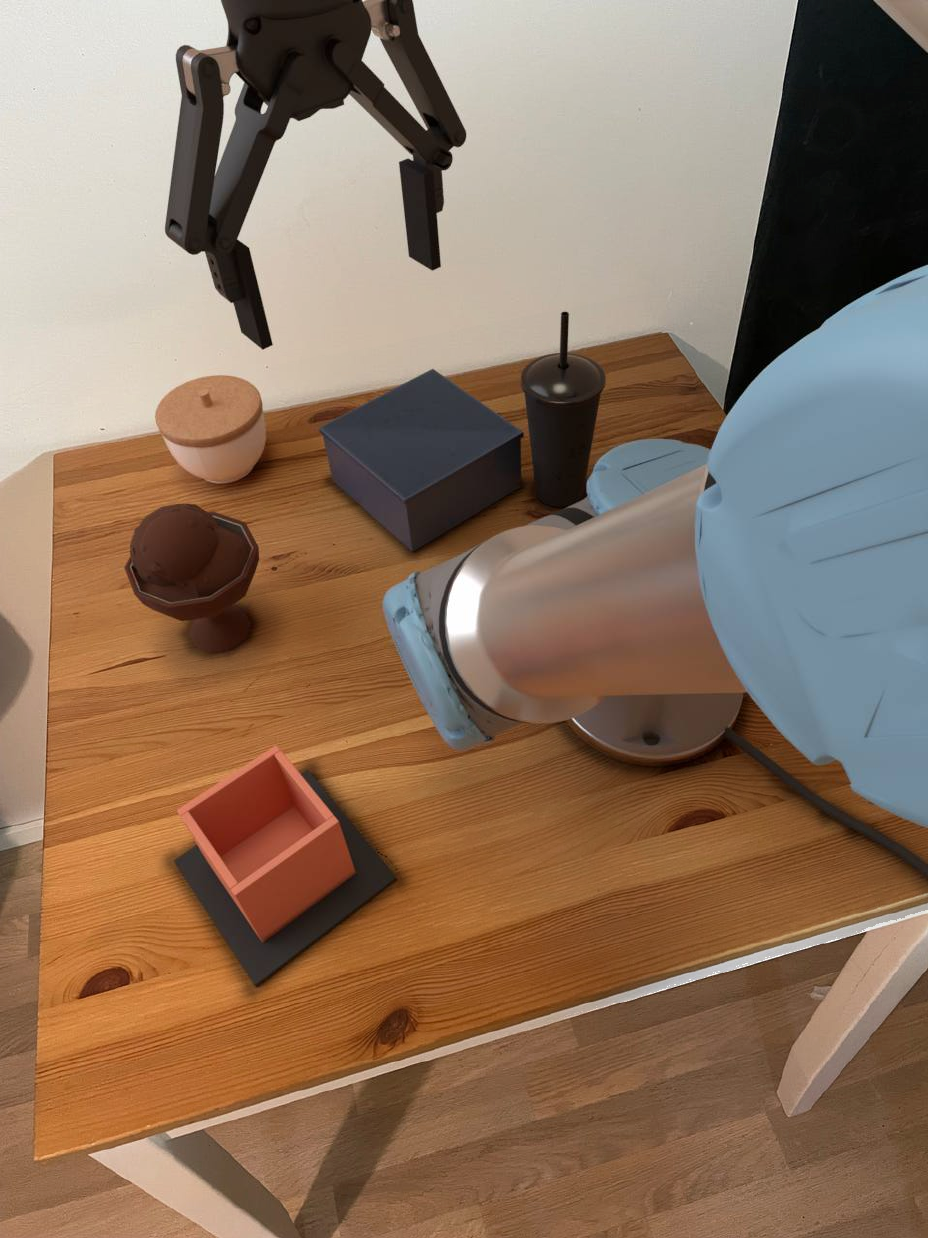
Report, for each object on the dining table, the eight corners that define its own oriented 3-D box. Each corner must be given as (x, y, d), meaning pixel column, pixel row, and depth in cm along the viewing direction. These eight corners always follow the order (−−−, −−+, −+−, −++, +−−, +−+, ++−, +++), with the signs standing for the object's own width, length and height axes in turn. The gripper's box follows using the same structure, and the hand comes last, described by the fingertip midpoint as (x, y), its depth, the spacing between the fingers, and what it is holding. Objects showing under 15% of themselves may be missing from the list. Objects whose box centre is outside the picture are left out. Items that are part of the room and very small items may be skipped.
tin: (524, 486, 94) (523, 431, 89) (412, 554, 89) (404, 500, 84) (437, 422, 102) (432, 368, 97) (329, 481, 97) (318, 427, 91)
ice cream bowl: (304, 624, 84) (269, 502, 73) (203, 698, 79) (148, 579, 68) (235, 567, 89) (192, 445, 78) (136, 634, 84) (75, 513, 73)
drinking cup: (505, 491, 94) (501, 314, 78) (558, 456, 97) (563, 279, 82) (560, 528, 90) (566, 350, 75) (613, 490, 93) (629, 311, 78)
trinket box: (286, 434, 102) (268, 361, 95) (263, 500, 95) (241, 427, 88) (193, 432, 103) (168, 360, 96) (163, 497, 96) (134, 425, 89)
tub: (356, 873, 68) (339, 821, 61) (262, 943, 65) (234, 895, 58) (298, 799, 72) (276, 744, 66) (207, 862, 69) (176, 810, 63)
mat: (397, 879, 68) (396, 877, 67) (256, 987, 63) (254, 985, 63) (308, 771, 74) (307, 769, 74) (175, 862, 69) (173, 860, 69)
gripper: (431, -153, 52) (454, 215, 68) (7, -48, 43) (150, 349, 59) (518, -134, 48) (521, 251, 64) (73, -14, 39) (207, 401, 55)
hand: (344, 299), depth 62 cm, fingers open, 13 cm apart
